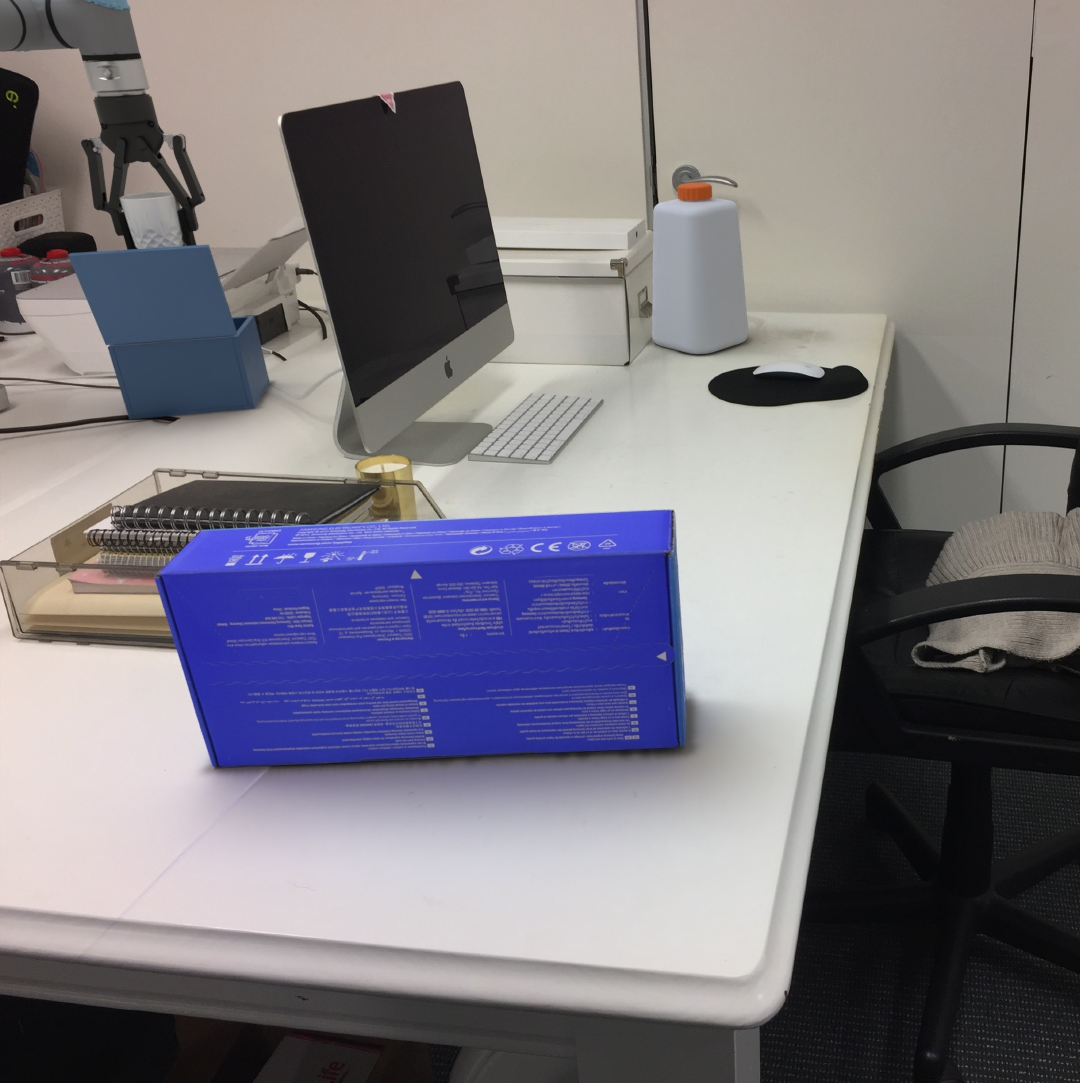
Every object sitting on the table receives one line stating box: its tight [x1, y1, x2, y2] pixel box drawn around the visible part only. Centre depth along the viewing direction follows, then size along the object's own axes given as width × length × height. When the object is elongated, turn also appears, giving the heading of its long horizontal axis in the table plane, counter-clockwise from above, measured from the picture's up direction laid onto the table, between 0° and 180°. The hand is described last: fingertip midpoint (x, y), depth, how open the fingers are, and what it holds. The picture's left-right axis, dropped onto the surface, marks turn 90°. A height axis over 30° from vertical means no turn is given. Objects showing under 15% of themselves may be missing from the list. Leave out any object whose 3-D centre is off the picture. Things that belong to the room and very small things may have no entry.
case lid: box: [68, 244, 237, 346], centre depth 153 cm, size 14×19×1 cm
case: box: [107, 315, 271, 420], centre depth 167 cm, size 14×19×12 cm
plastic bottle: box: [651, 182, 749, 355], centre depth 186 cm, size 15×15×28 cm
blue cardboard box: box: [153, 508, 687, 769], centre depth 84 cm, size 39×8×18 cm, turn 91°
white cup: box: [119, 190, 186, 249], centre depth 157 cm, size 8×8×10 cm
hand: (164, 255), depth 159 cm, fingers closed on white cup, 8 cm apart
